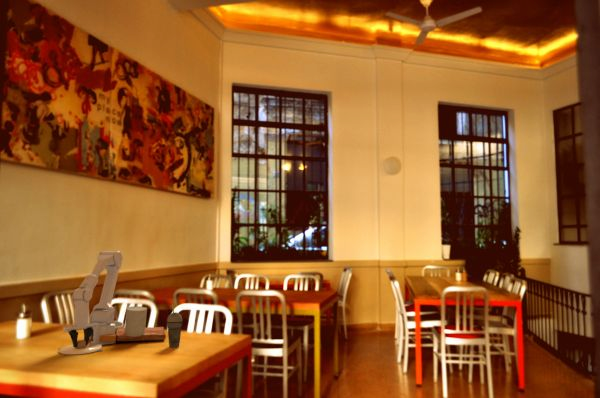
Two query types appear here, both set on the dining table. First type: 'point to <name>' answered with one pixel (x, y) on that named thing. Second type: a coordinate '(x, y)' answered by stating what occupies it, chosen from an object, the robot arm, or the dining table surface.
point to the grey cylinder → (135, 321)
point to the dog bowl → (117, 325)
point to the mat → (91, 352)
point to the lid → (80, 348)
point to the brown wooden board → (150, 334)
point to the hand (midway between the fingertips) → (80, 346)
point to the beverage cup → (174, 329)
